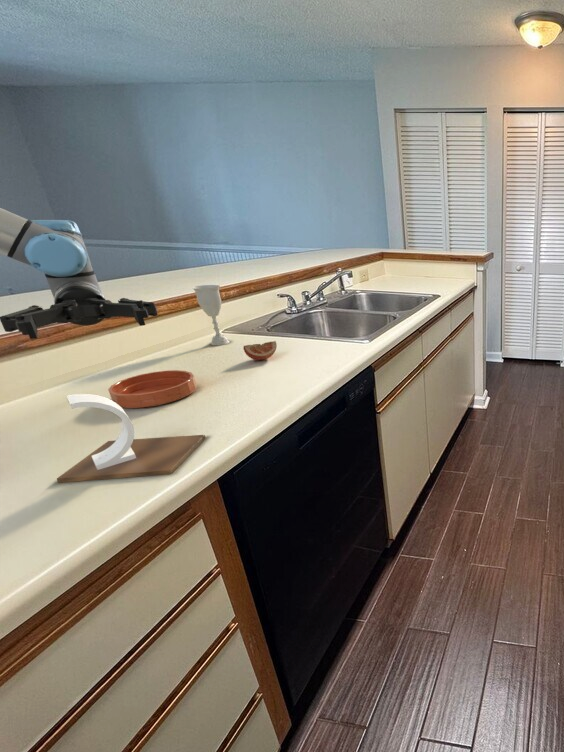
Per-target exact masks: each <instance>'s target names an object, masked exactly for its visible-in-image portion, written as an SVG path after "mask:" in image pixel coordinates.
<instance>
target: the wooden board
mask: <svg viewBox="0 0 564 752" xmlns="http://www.w3.org/2000/svg"><path fill="white" fill-rule="evenodd" d="M116 440H117V439H115V440H108V441H106V442H105V443H103V444H102V445H101V446H99V447H98V448H96V449H95V450H94V451H92V452H91V453H90V454H89V455H87V456H85V457H84V458H83V459H81V460H80V461H79V462H77V463H76V464H74V465H73V466H71V467H70V468H69V469H67V470H66V471H64V473H62V474H60V476H58V477H57V478H56V481H57V483H59V484H60V483H71V482H85V481H96V480H112V479H122V478H134V477H135V478H136V477H147V476H161V475H172V474H173V473H174V472H175V471H176V470H177V469H178V468H179V467H180V466H181V464H183V462H185V461H186V459H187V458H188V457H189V456H190V455H191V454H192V453H193V452H194V451H195V450H196V449H197V448H198V447H199V446H200V445H201V444H202V443H203V441H205V440H206V435H205V434H193V435H179V436H178V435H177V436H163V437H150V438H149V437H148V438H134V439H133V442H132V445H131V448H132V450H133V452H134V453H135V456H136V458H135V459H132V460H129V461H126V462H122V463H119V464H116V465H113V466H109V467H106V468H103V469H100V470H97V468H96V466H95V463H94V461H93V459H92V455H95V454H98V453H100V452H102V451H104V450H106V449H107V448H109V447H110V446H111V445H112V444H113V443H114V442H115V441H116Z"/></svg>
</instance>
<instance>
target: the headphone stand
mask: <svg viewBox="0 0 564 752" xmlns="http://www.w3.org/2000/svg"><path fill="white" fill-rule="evenodd" d="M66 398H67V400H68V403H69V405H70V407H71V409H78V408H79V409H80V408H95V409H101V410H105V411H108V412H111V413H113V414H115V415H116V416H117V417H119V418H120V420H121V431H120V434H119V436H118V437H117V439H115V440H116V441H115V440H114V441H115V442H114V443H113V444H112V445H111V446H110V447H109V448H107V449H106V450H104V451H102V452H100V453H98V454H95V455H92V459H93V461H94V463H95V466H96V468H97V470H100V469H103V468H106V467H109V466H113V465H116V464H119V463H122V462H126V461H129V460H132V459H135V458H136V456H135V453H134V452H133V450H132V448H131V445H132V442H133V439H135V428H134V424H133V422H132V420H131V419H130V417H129V416H128V414H127V413H126V411H125V410H124V409H123V407H120V406H119V405H118V404H117V403H115V402H114V401H112V399H110V398H108V397H105V396H101V395H97V394H91V393H73V394H68V395H67V394H66Z"/></svg>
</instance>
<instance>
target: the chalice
mask: <svg viewBox="0 0 564 752" xmlns="http://www.w3.org/2000/svg"><path fill="white" fill-rule="evenodd" d="M192 289H193V291H194V293H195V296H196V300H197V303H198V305H199V306H200V309H202V311H203V312H204V313H205V314H206V315H207V317H210V318H211V319H212V322H211V324H213V330H214V332H215V335H213V336H212V338H211V343H210V345H211V346H223V345H227V344H230V341H229V340H228V338H227V337H226V336H225V335H224V334H222V333H221V332H220V329H221V328H220V327H219V321H218V320H217V317H218V316H219V315H220V311H221V308H222V302H223V301H222V298H221V294H220V285H218V284H203V285H202V284H201V285H195V286H192Z"/></svg>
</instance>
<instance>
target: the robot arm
mask: <svg viewBox="0 0 564 752" xmlns="http://www.w3.org/2000/svg"><path fill="white" fill-rule="evenodd" d="M0 254H1V255H3V256H6V257H8V258H10V259H13V260H15V261H18V262H21V263H23V264H25V265H29V266H31V267H33V268H34V269H36V270H37V271H38V272H40V273H43V274H44V276H45V279H46V281H47V284H48V286H49V289H50V292H51V295H52V297H53V302H54V304H51V305H50V307H49V308H44V307H43V306H40V305H37V304H33V305H31V306H28V307H27V308H24V309H21V310H18V311H13V312H11V313H8V314H7V313H6V314H5V315H1V316H0V323H1V325H2V327H3V330H4V332H6V333H12V332H15V331H18V332H20V333H21V334H22V336H28V337H29V339H30V340H35V339H38V333H39V332H38V328H43V327H47V326H51V325H54V324H69V323H70V324H73V325H76V326H82V327H83V326H85V327H86V326H88V327H89V326H94V325H97V324H100V323H101V322H103V321H104V320H105V319H107V320H108V319H113V318H116V317H117V318H118V317H119V318H134V320H135V322H137V324H138V325H139V326H140V327H143V326H146V323H145V319H148V318H150V317H157V316H159V314H158V310H157V307H156V303H155V302H152V301H144V300H137V299H136V300H135V299H130V298H125V297H120V298H119V299H117V302H112V300H110V299H106V298H105V296H104V294H103V293H102V290H101V288H100V284H99V282H98V278H97V276H96V273H95V271H94V269H93V266H92V263H91V259H90V256H89V253H88V250H87V247H86V244H85V241H84V236H83V234H82V233H81V231H80V228H79V226H78V224H77V223H76V222H75V221H73V220H70V219H31V220H30V219H28V218H25V217H23V216H20V215H18V214H16V213H14V212H11V211H9V210H7V209H4V208H2V207H0Z"/></svg>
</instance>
